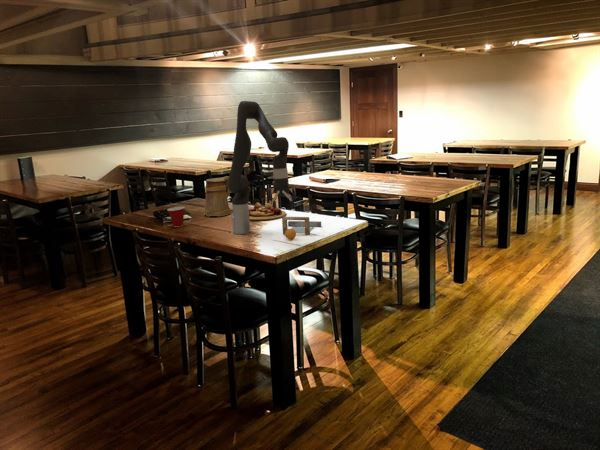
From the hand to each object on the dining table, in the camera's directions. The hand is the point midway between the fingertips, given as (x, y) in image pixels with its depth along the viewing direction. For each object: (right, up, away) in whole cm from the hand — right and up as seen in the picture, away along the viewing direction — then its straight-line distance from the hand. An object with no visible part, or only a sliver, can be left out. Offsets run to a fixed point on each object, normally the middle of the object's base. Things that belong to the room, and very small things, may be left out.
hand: (283, 208), depth 258 cm
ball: (+4, -14, +11) cm, 18 cm away
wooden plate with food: (-16, -4, +73) cm, 75 cm away
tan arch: (+7, -14, +22) cm, 27 cm away
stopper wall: (+11, -10, +39) cm, 42 cm away
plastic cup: (-68, -10, +55) cm, 88 cm away
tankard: (-47, -1, +87) cm, 98 cm away
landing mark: (+9, -12, +31) cm, 34 cm away
